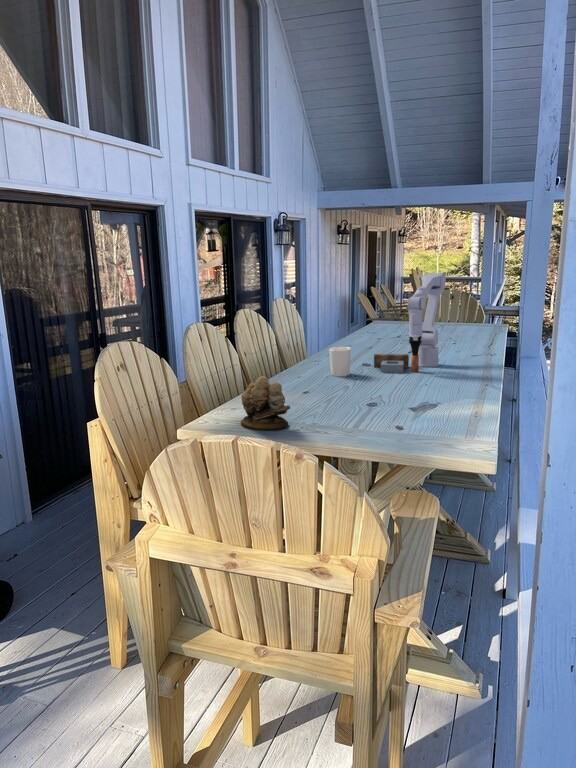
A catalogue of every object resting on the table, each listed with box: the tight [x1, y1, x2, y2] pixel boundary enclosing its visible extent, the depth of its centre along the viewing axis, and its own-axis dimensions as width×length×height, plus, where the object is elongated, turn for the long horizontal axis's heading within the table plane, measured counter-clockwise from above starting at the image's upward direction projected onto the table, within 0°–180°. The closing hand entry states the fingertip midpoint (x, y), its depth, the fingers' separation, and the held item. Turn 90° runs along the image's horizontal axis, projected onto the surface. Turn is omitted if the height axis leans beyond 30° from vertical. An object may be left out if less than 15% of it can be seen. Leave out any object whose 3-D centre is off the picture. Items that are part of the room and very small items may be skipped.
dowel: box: [410, 354, 420, 374], centre depth 248 cm, size 3×3×8 cm
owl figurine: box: [240, 375, 291, 432], centre depth 180 cm, size 18×12×17 cm, turn 65°
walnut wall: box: [373, 353, 410, 369], centre depth 259 cm, size 16×3×6 cm, turn 77°
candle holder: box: [328, 346, 352, 377], centre depth 247 cm, size 10×10×12 cm
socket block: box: [380, 360, 405, 374], centre depth 253 cm, size 10×10×4 cm
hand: (415, 353), depth 246 cm, fingers open, 7 cm apart
